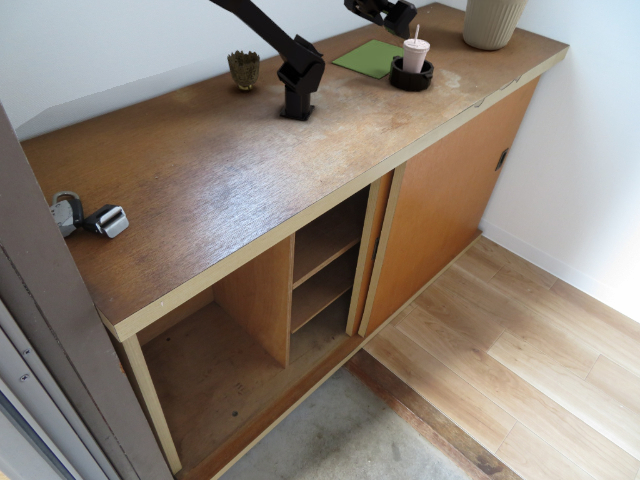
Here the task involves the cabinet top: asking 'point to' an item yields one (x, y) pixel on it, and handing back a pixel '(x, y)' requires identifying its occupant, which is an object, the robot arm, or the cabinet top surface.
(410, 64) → the smoothie
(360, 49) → the cloth
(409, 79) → the pot
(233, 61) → the cup
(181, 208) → the cabinet top surface
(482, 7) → the canister
